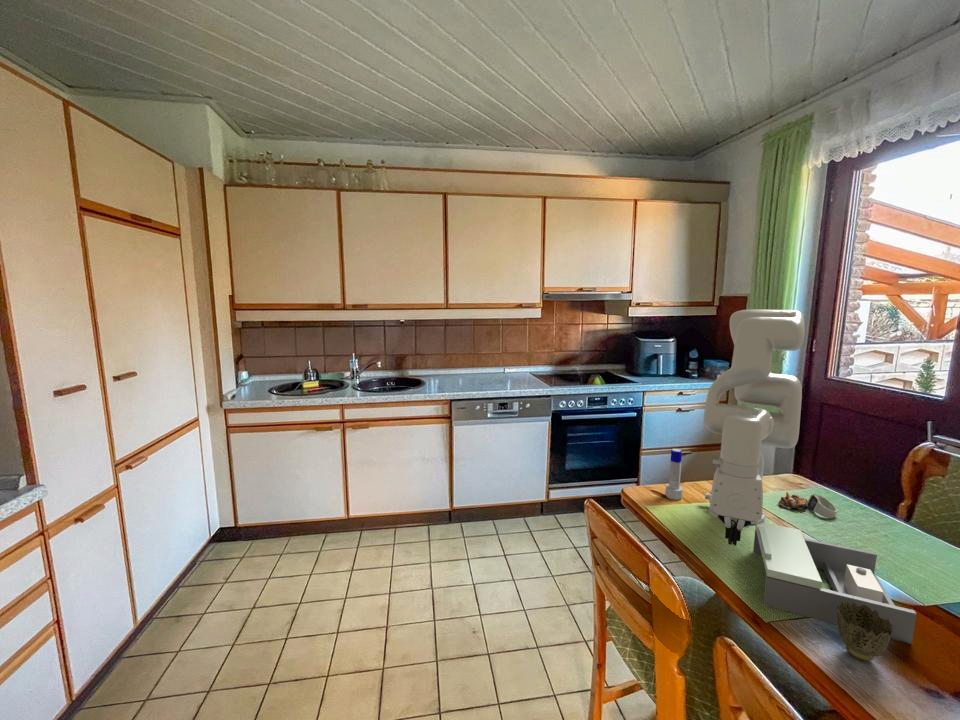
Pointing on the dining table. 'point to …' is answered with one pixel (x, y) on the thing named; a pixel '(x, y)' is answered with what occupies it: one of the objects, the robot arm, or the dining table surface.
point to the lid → (787, 555)
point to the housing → (835, 589)
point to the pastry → (794, 502)
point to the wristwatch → (822, 506)
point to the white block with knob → (862, 583)
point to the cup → (863, 631)
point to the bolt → (674, 476)
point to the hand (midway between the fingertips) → (731, 541)
